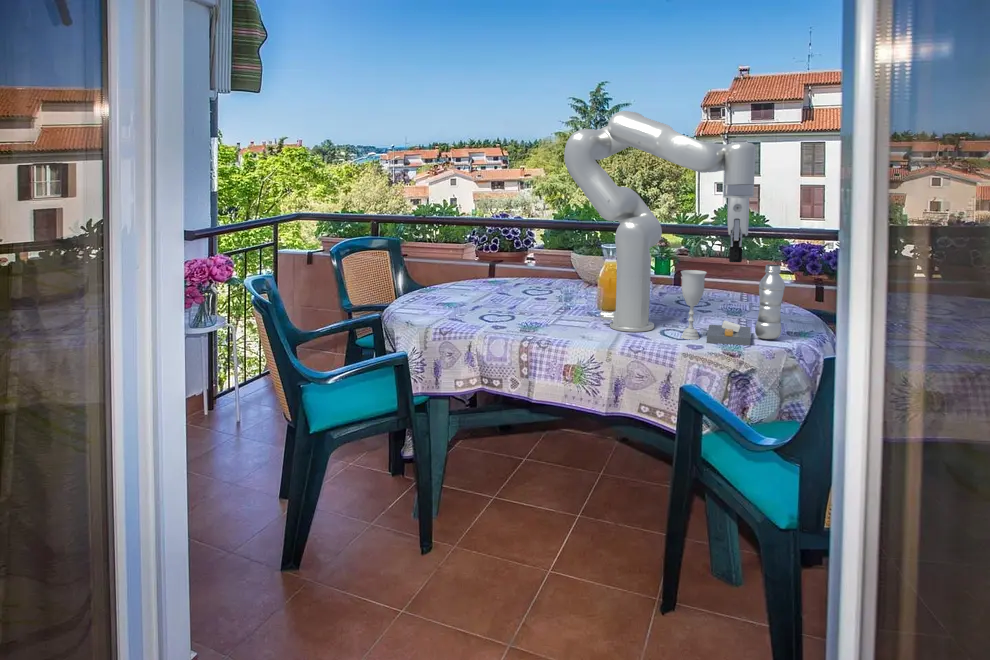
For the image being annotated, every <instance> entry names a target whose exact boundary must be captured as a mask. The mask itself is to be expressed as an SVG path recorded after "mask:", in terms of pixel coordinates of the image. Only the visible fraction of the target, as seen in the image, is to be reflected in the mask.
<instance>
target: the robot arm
mask: <svg viewBox="0 0 990 660" xmlns="http://www.w3.org/2000/svg"><path fill="white" fill-rule="evenodd" d="M607 123H608V124H607V125H606V126H604V127H602V128H599V129H592V128H584V129H579V130H576V131H575V132H573V133H572V134H571V135H570V136H569V138H568V139H567V141H566V143H565V148H564V153H563V154H564V155H563V157H564V163H565V167H566V170H567V172H568V173H569V175H570V177H571V178H572V179H573V181H574V182H575V183H576V185H577V186H578V188H580V190H581V191H582V193H583V194H584V195H585V197H586V198H587V200H588V201H589V202H590V203H591V205H592V206H593V208H595V210H596V212H597V213H598V214H599V216H600V217H602V219H604V220H606V221H608V222H617V221H618V223H619V225H618V227H617V229H616V232H615V235H614V236H615V238H614V241H615V242H614V243H615V250H616V289H615V290H616V292H615V295H616V296H615V310H614V311H611V312H607V311H606V312H605V311H601V312H600V319H601V320H610V321H611V322H610V323H609V327H610V328H611V329H613V330H614V331H620V332H630V333H633V332H634V333H636V332H638V333H640V332H648V331H652V330H654V329H655V323H654V322H652V321H650V302H651V301H650V300H651V299H650V298H651V274H652V273H651V272H652V265H651V264H652V263H651V262H652V261H651V254H650V253H651V252H650V248H652V247H654V246H656V245H657V244H658V243H659V242H660V240H661V238H662V235H663V232H662V231H663V229H662V225H661V223H660V221H659V220H658V219H657V217H656V216H655V214H654V213H653V211H651V209H650V208H649V207H648V205H647V203H645V201H644V200H643V199H642V198H641V196H640V195H639V194H638V193H637V192H636V191H634V190H633V189H631V188H630V187H627V186H618V185H617V183H615V182H614V180H613V179H612V178H611V177H610V175H609V174H608V172H607V171H606V170H605V169H604V168H602V166H601V165H600V164H598V162H597V161H599V160H603V159H607V158H608V157H611V156H613V155H615V154H617V153H619V152H621V151H623V150H624V151H625V150H626V149H627V148H630V147H631V148H634V149H637V150H640V151H643V152H645V153H647V154H651V155H653V156H656V157H658V158H659V159H663V160H665V161H668V162H670V163H672V164H675V165H677V166H680V167H684V168H686V169H689V170H691V171H694V172H697V173H716V172H717V173H718V172H723V190H722V191H723V192H722V193H723V194H722V195H723V196H722V198H727V232H728V236H729V237H730V246H729V253H728V256H729V257H728V261H729V262H728V263H742V262H743V246H742V243H743V242H742V241H743V235H744V236H745V237H747V236H748V235H749V220H750V198H754V191H755V190H754V189H755V171H756V170H755V168H756V154H757V153H756V146H755V144H754V143H752V142H734V143H729V144H727V143H725V144H724V143H713V142H705V141H702V140H699V139H696V138H692V137H690V136H687V135H684V134H682V133H680V132H677V131H676V130H675V129H674V128H673V127H672V126H670V125H668V124H666V123H664V122H660V121H657V120H654V119H652V118H648V117H645V116H644V115H643V114H641V113H639V112H636V111H629V110H628V111H627V110H621V111H617V112H616V113H614V114H613V115H612V116H611V117H610V118H609V120H608V122H607ZM596 160H597V161H596Z"/></svg>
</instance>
